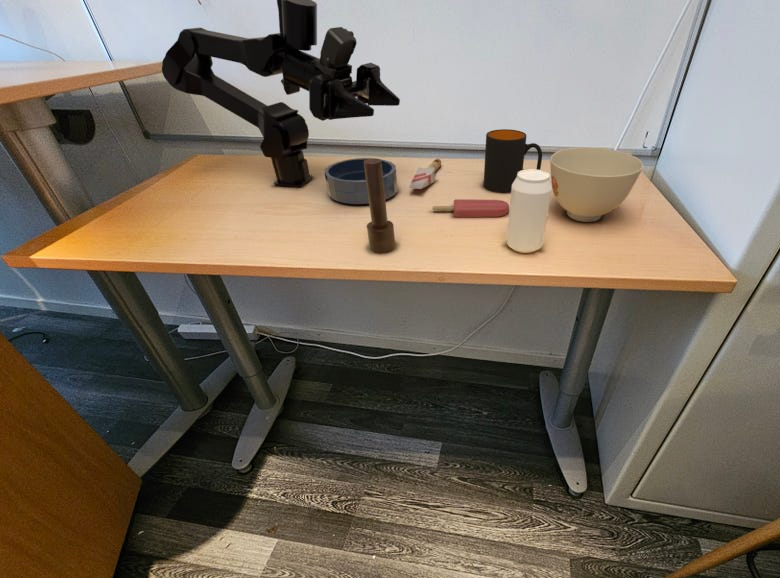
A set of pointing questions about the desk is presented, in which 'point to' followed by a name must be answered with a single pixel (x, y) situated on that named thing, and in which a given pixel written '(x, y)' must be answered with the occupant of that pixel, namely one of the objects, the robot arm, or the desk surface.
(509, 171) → the mug
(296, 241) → the desk surface
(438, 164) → the paintbrush
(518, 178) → the beverage can
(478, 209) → the popsicle
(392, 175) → the blue grey round dish
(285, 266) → the desk surface
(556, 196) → the bowl
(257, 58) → the robot arm
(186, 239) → the desk surface
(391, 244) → the pestle
